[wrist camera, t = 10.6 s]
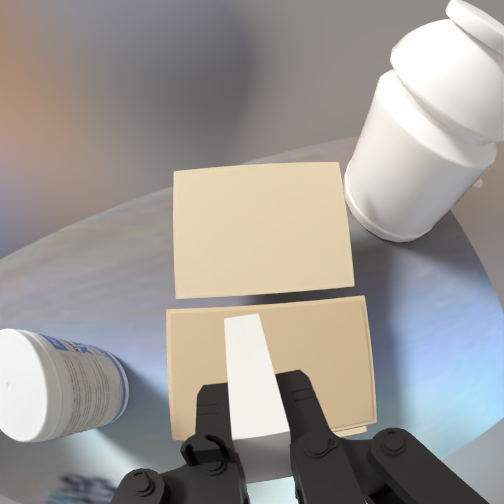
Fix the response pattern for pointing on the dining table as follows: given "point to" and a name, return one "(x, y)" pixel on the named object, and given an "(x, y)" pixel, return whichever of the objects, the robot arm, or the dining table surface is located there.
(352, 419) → the carton
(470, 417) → the dining table surface
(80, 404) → the supplement tub
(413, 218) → the bottle
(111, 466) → the dining table surface
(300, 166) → the flap
